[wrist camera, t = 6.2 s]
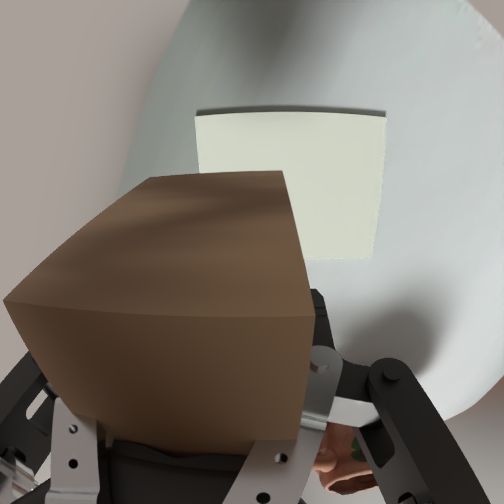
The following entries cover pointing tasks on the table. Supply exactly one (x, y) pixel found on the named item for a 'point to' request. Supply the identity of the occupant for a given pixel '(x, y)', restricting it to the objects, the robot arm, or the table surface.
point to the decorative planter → (342, 461)
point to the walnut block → (178, 315)
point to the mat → (308, 170)
